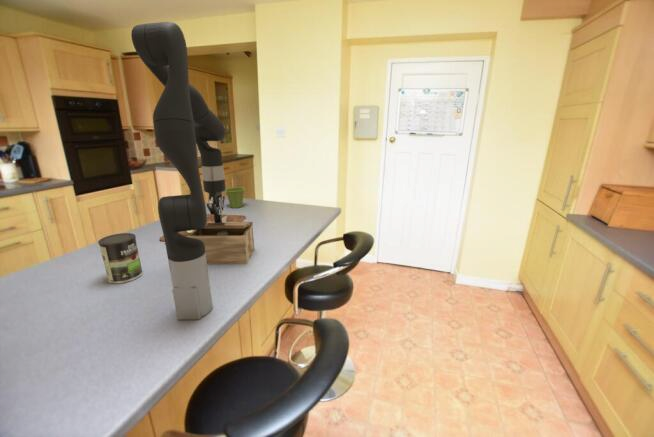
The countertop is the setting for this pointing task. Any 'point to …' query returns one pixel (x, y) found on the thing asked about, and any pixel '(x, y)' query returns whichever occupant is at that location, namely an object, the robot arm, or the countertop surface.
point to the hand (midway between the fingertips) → (218, 223)
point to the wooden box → (226, 244)
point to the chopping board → (211, 219)
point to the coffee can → (121, 257)
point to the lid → (228, 224)
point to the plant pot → (235, 196)
